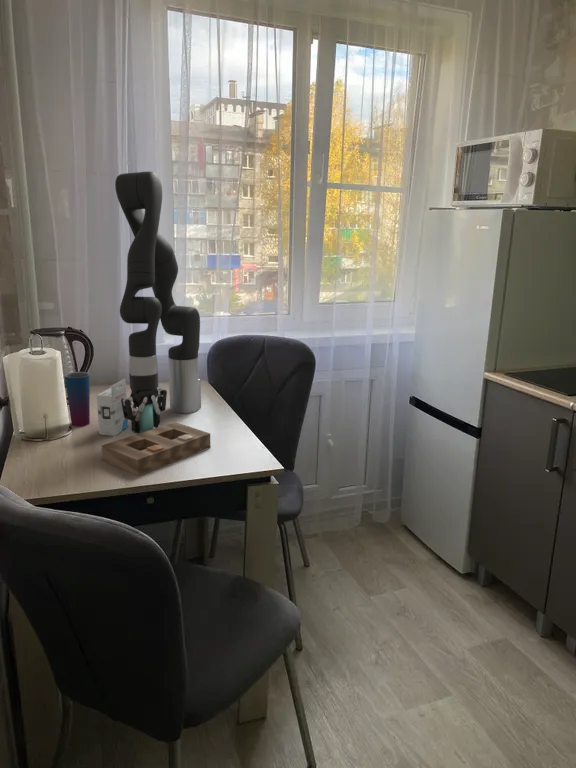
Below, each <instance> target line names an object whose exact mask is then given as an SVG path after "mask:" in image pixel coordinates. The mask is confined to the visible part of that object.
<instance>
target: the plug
mask: <svg viewBox="0 0 576 768" xmlns="http://www.w3.org/2000/svg"><path fill="white" fill-rule="evenodd" d="M137 409H139V408H138V407H137ZM139 423H140V433H142V432H145V431H148V430H151V429H155V427H153V404H150V405H146V406H144V409H143V412H142V413H141V414H140V417H139Z"/></svg>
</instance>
